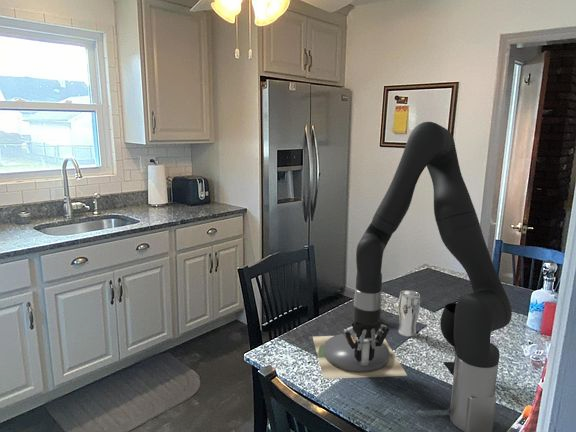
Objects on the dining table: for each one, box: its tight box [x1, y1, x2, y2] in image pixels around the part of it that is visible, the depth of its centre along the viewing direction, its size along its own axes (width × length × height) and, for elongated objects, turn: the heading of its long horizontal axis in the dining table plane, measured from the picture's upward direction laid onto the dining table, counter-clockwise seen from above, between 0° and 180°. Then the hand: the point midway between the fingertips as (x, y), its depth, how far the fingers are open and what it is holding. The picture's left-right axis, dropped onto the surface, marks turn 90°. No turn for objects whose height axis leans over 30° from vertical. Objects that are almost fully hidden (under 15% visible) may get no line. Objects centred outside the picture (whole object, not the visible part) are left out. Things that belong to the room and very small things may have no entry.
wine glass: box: [439, 302, 457, 376], centre depth 119 cm, size 10×10×20 cm
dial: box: [324, 332, 389, 372], centre depth 128 cm, size 22×20×8 cm
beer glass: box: [397, 289, 421, 337], centre depth 141 cm, size 7×7×15 cm
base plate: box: [312, 334, 408, 380], centre depth 128 cm, size 24×24×1 cm
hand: (364, 359), depth 120 cm, fingers closed on dial, 3 cm apart
